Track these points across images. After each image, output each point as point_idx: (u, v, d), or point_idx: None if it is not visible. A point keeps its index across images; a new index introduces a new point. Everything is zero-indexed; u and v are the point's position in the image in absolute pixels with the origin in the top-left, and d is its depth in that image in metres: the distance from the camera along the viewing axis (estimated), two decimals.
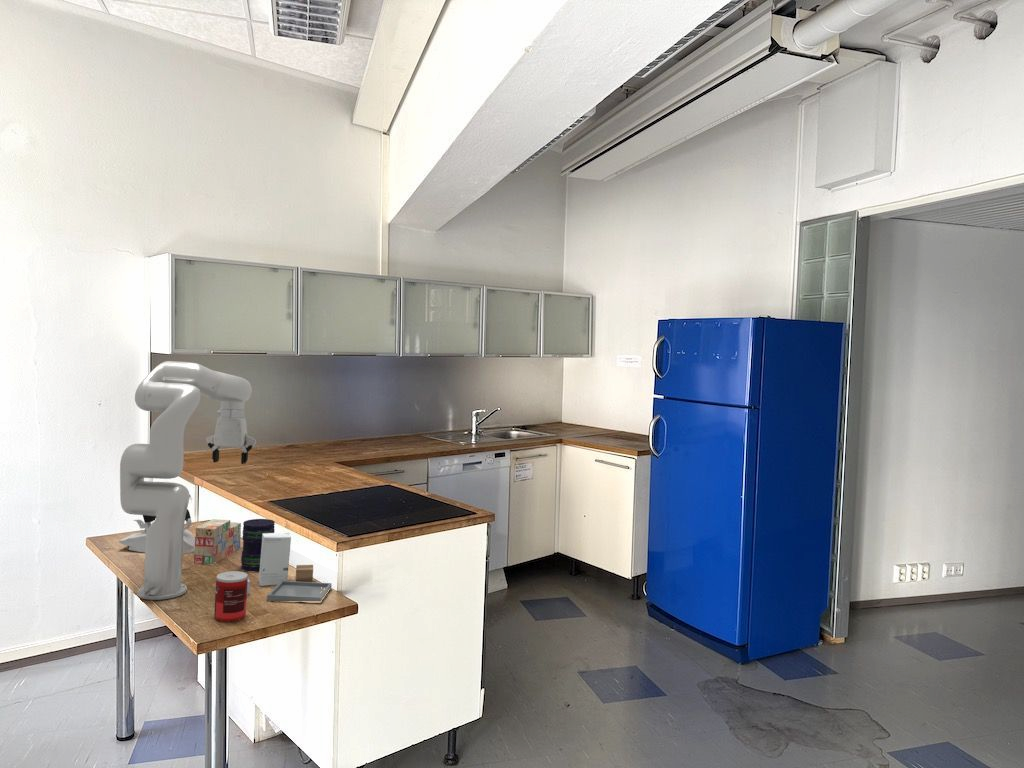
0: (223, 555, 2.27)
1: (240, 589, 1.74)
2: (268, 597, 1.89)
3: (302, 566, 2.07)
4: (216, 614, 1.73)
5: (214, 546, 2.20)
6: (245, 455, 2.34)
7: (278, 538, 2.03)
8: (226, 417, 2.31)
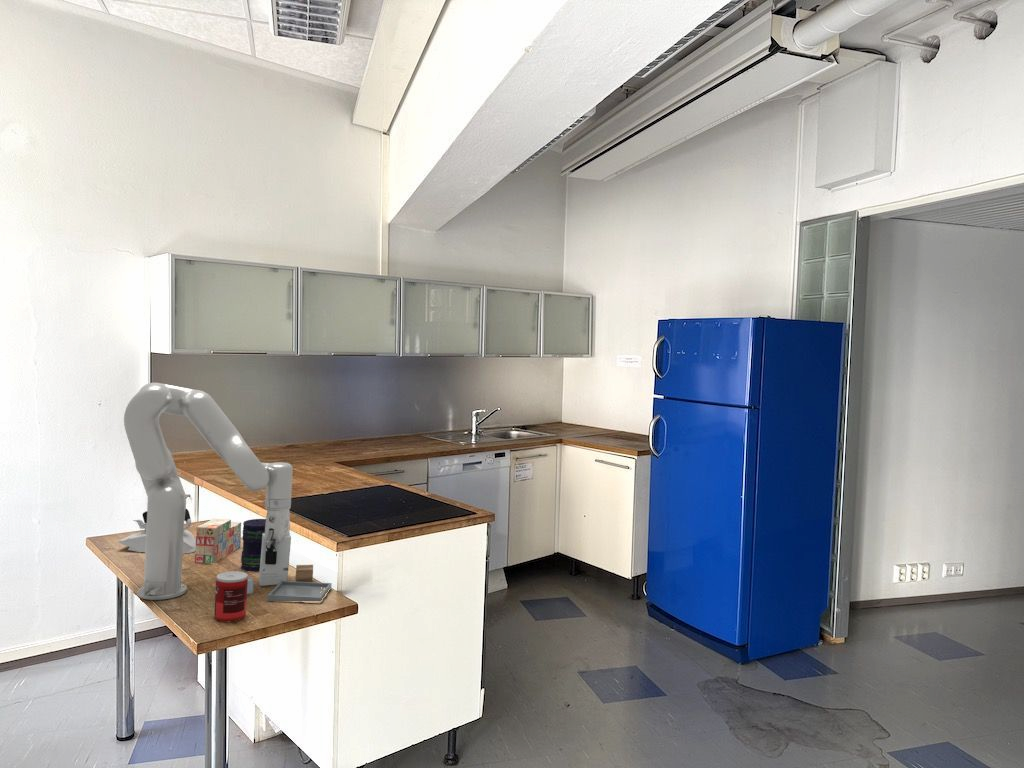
0: (224, 554, 2.27)
1: (240, 589, 1.74)
2: (268, 597, 1.89)
3: (302, 566, 2.07)
4: (216, 614, 1.73)
5: (215, 545, 2.20)
6: None
7: None
8: (289, 507, 2.04)
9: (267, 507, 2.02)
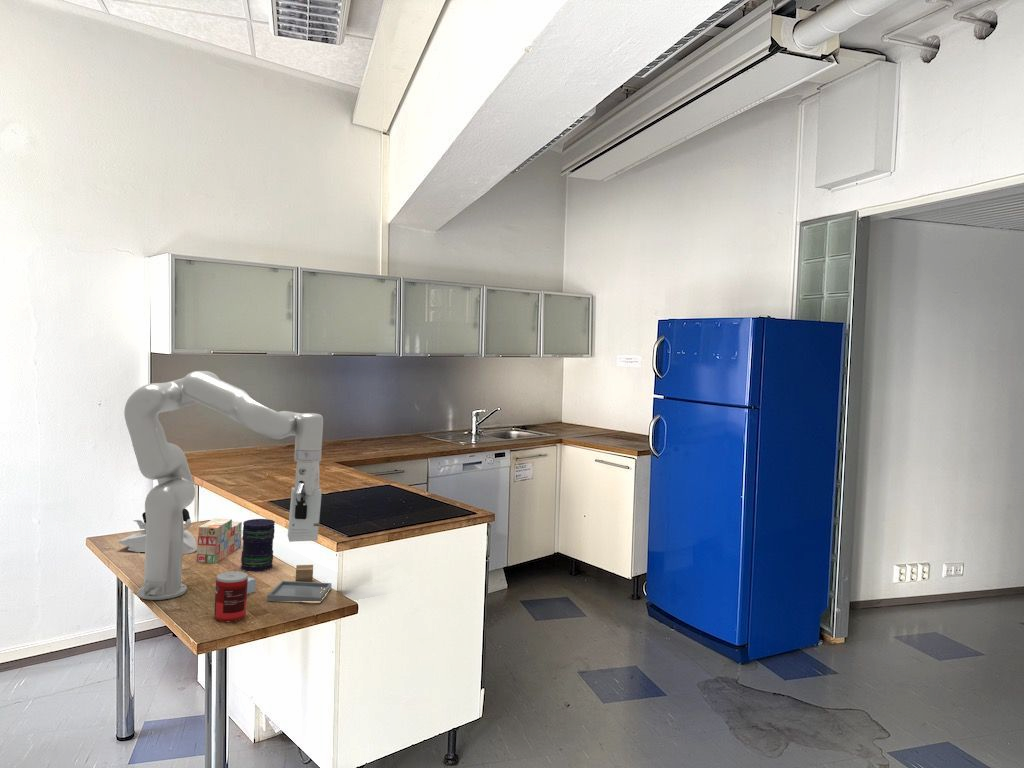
0: (225, 554, 2.28)
1: (240, 589, 1.74)
2: (268, 597, 1.89)
3: (302, 566, 2.07)
4: (216, 614, 1.73)
5: (217, 545, 2.21)
6: None
7: None
8: (319, 459, 1.94)
9: (297, 459, 1.92)
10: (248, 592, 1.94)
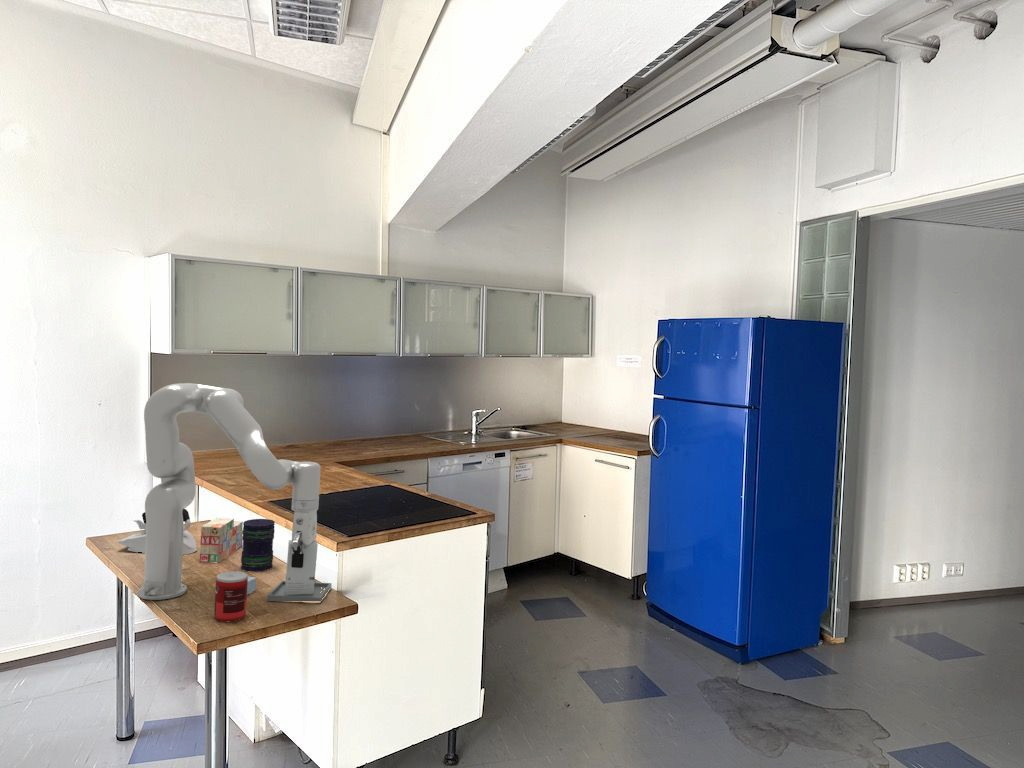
0: (227, 553, 2.29)
1: (240, 589, 1.74)
2: (268, 597, 1.89)
3: None
4: (216, 614, 1.73)
5: (220, 544, 2.22)
6: None
7: (304, 546, 1.93)
8: (317, 508, 1.95)
9: (294, 508, 1.92)
10: (251, 591, 1.95)
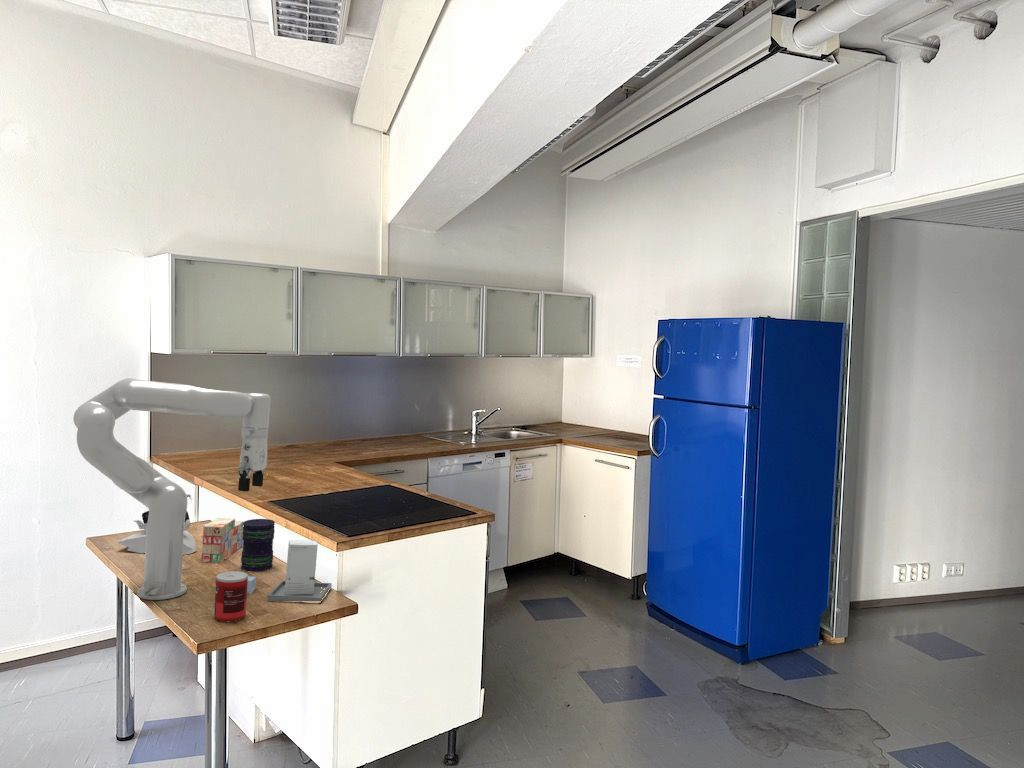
0: (229, 553, 2.29)
1: (240, 589, 1.74)
2: (268, 597, 1.89)
3: None
4: (216, 614, 1.73)
5: (222, 544, 2.23)
6: None
7: (304, 546, 1.93)
8: (265, 437, 2.05)
9: (243, 435, 2.02)
10: (252, 590, 1.96)
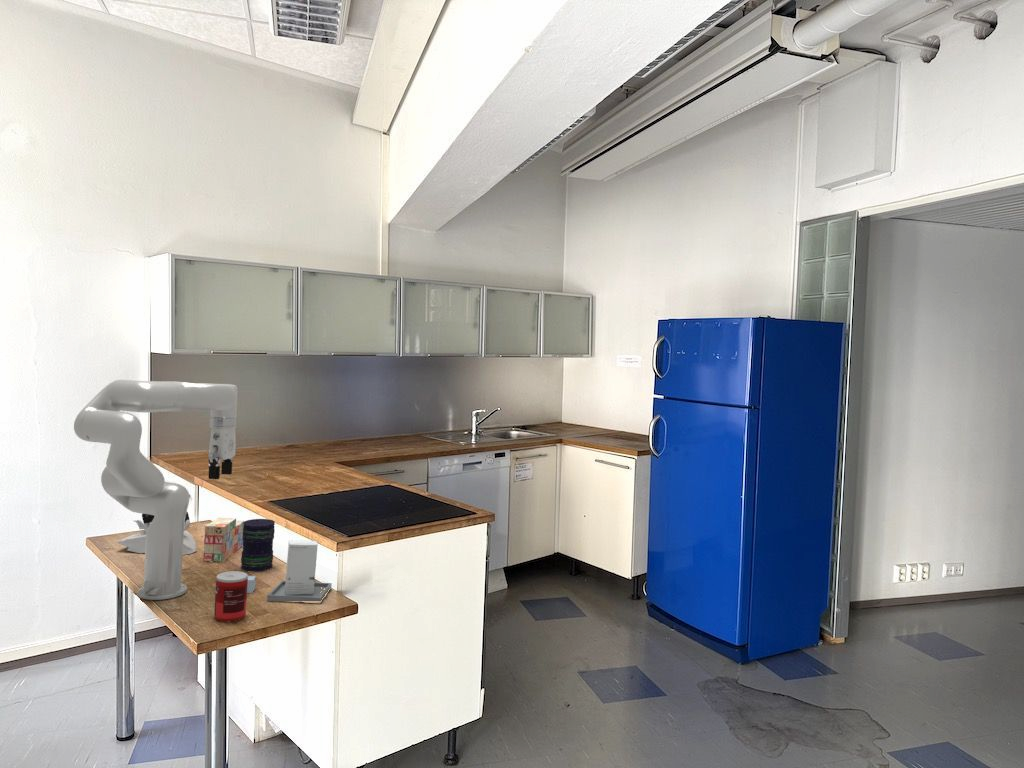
0: (230, 553, 2.30)
1: (240, 589, 1.74)
2: (268, 597, 1.89)
3: None
4: (216, 614, 1.73)
5: (223, 544, 2.23)
6: None
7: (304, 546, 1.93)
8: (234, 426, 2.11)
9: (212, 425, 2.09)
10: (253, 589, 1.96)
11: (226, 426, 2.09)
